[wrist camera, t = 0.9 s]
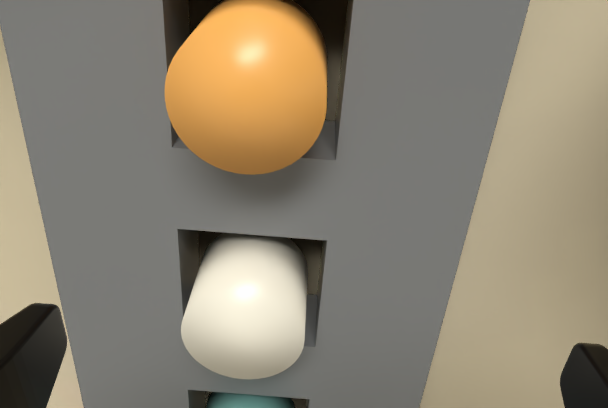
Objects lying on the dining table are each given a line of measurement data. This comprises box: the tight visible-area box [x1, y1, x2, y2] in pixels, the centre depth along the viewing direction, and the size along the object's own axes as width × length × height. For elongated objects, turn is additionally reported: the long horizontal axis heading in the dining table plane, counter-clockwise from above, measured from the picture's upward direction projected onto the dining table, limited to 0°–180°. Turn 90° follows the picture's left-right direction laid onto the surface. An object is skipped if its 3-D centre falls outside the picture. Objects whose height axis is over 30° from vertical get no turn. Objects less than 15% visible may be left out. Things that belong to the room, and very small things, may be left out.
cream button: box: [181, 233, 308, 379], centre depth 19 cm, size 4×4×3 cm
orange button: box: [165, 0, 327, 175], centre depth 15 cm, size 4×4×3 cm
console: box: [0, 0, 530, 408], centre depth 21 cm, size 14×24×3 cm, turn 176°
